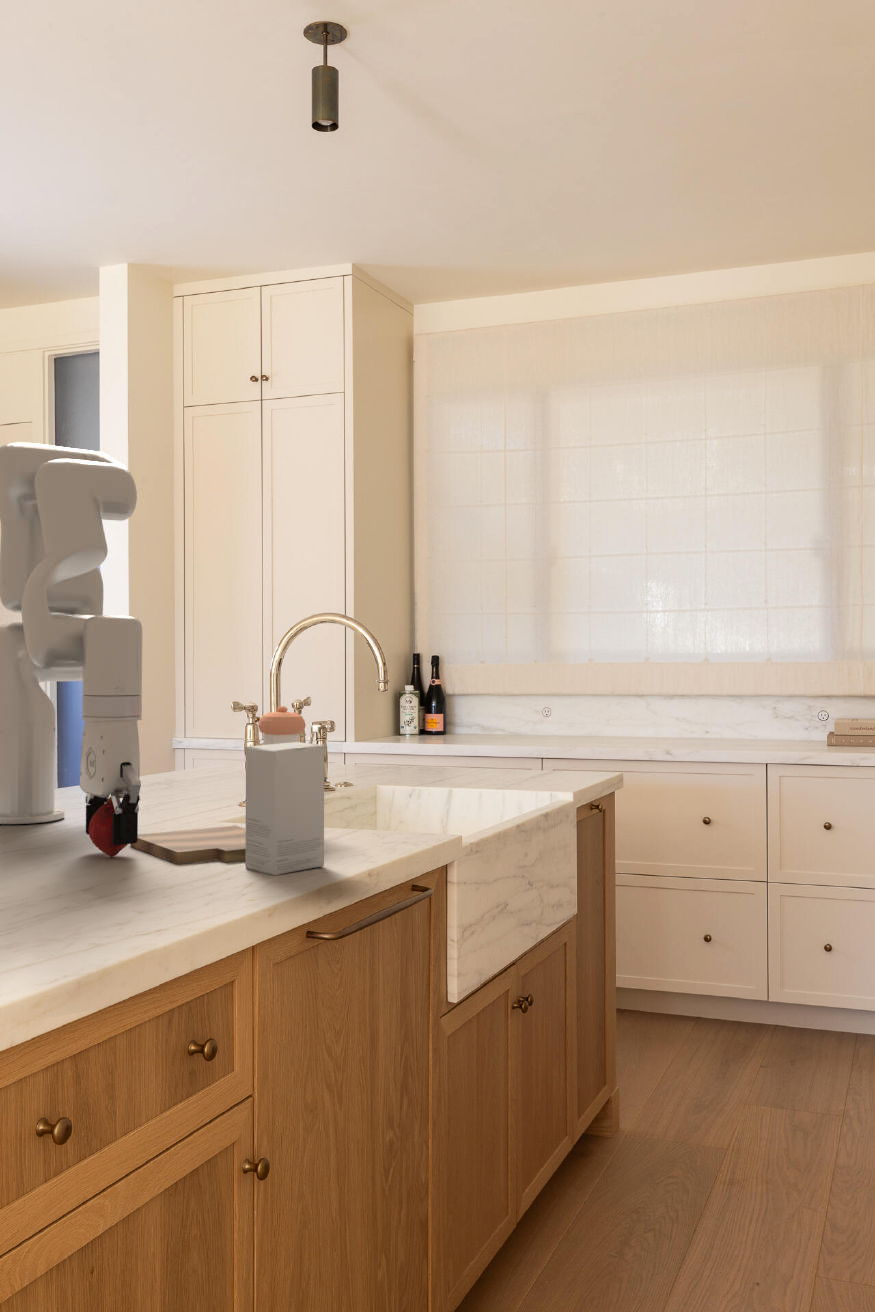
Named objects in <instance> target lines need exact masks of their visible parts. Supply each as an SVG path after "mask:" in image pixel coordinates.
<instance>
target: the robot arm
mask: <svg viewBox="0 0 875 1312" xmlns="http://www.w3.org/2000/svg"><path fill="white" fill-rule="evenodd" d="M137 497H138V494H137V487H136V483H135V479H134V478H133V475H132V473H131V472H130V470H129V469H128V468H127V467H126V466H125V465H124V464H123V463H121V462H119V461H118V460H116V459H115V458H113V457H111V456H110V455H108V454H107V453H104V452H102V451H101V452H100V451H96V450H95V451H94V450H88V449H83V448H82V449H81V448H73V447H72V448H71V447H64V446H57V445H52V444H51V445H50V444H44V443H43V444H41V443H34V442H33V443H32V442H11V443H6V444H4V445H1V446H0V602H1V604H2V606H3V607H4V608H5V609H7V610H9V611H11V612H14V613H18V614H21V621H12V622H6V623H3V624H0V825H23V824H24V825H25V824H26V825H27V824H39V823H40V824H41V823H47V822H55V821H58V820H61V819H62V820H63V819H64V818H65V813H66V812H65V810H64V809H63V808H59V807H55V801H56V797H55V796H56V795H55V793H56V792H55V790H56V789H55V788H56V787H55V786H56V785H55V783H56V782H55V779H56V778H55V777H56V775H55V774H56V771H55V770H56V766H55V765H56V709H55V705H54V703H53V701H52V700H51V698H50V696H48V694H47V693H46V691H44V689H43V688H42V687H41V685H40V683H44V682H45V683H47V682H82V719H81V720H82V721H84V725H83V732H82V742H81V754H80V756H81V757H80V768H79V769H80V772H79V788H80V789H81V790H82V791H83V793H85V794H86V795H85V798H84V800H85V801H84V802H85V834H86V835H88V836H89V823H90V821H91V818H92V817H93V815H94V814H95V813H96V812H97V810H98V809H99V808H100V807H101V806H103V805H104V804H105V803H106V802H107V801H108V799H109V798H110V797H111V798H112V801H113V805H114V809H115V812H116V813H114V814H112V844H114V845H123V844H128V845H129V844H134V843H136V842H137V840H138V835H139V834H138V833H139V832H138V831H139V825H138V824H139V823H138V822H139V820H138V819H139V818H138V817H139V810H140V807H139V802H140V800H141V796H140V791H141V786H142V782H141V780H140V779H141V777H140V776H141V763H140V762H141V759H140V758H141V756H140V755H141V754H140V738H139V737H140V736H139V727H138V726H139V725H138V721H142V718H143V717H142V715H143V714H142V712H143V711H142V708H143V707H142V705H143V704H142V701H143V697H142V696H143V695H142V693H143V691H142V690H143V687H142V686H143V685H142V682H143V626H142V622H141V621H140V620H139V619H138V618H136V617H133V616H127V615H104V614H103V613H104V581H103V575H102V573H101V571H100V569H99V568H100V565H102V564H103V563H104V561H106V558H107V556H108V551H109V550H108V543H107V540H106V534H105V529H104V525H103V520H106V521H116V522H117V521H119V522H121V521H122V522H123V521H126V520H128V519H129V518H130V517H132V515H133V514H134V512H135V509H136V506H137V501H138V500H137V499H138V498H137Z"/></svg>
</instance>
